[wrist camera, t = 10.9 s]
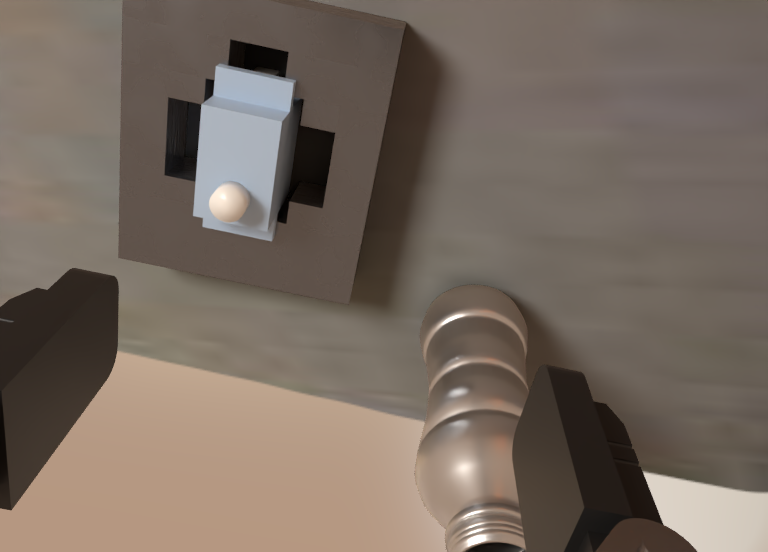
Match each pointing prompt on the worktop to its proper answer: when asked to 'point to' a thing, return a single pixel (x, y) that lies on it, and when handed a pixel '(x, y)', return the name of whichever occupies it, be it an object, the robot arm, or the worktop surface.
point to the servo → (246, 151)
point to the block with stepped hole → (320, 111)
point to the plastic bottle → (473, 418)
